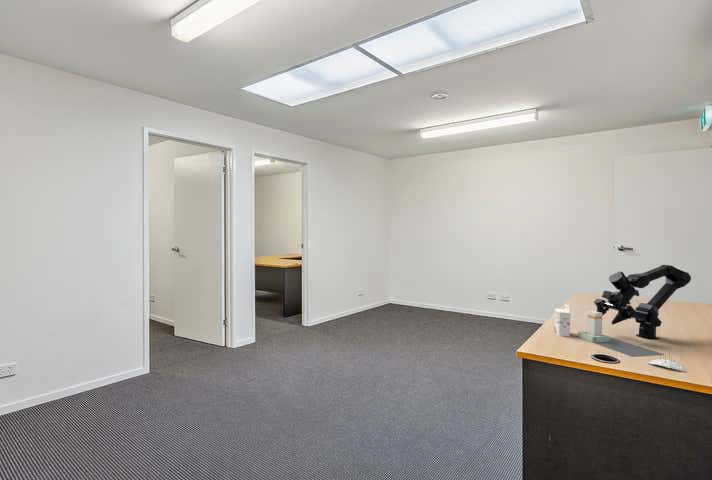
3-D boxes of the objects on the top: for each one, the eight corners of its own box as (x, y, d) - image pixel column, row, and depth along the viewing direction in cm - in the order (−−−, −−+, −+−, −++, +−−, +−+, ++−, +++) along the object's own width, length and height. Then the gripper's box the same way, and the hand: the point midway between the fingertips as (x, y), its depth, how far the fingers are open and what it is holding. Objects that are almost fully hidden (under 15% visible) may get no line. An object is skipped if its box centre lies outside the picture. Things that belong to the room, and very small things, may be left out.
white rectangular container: (594, 337, 183) (595, 311, 183) (602, 340, 178) (603, 313, 178) (585, 338, 182) (586, 311, 182) (593, 341, 177) (594, 313, 177)
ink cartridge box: (553, 332, 194) (554, 302, 193) (564, 332, 193) (565, 302, 192) (558, 336, 186) (559, 305, 185) (570, 337, 185) (571, 306, 184)
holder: (594, 336, 186) (594, 331, 185) (610, 341, 177) (610, 336, 177) (578, 337, 184) (578, 331, 184) (593, 342, 175) (594, 337, 175)
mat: (603, 335, 189) (603, 334, 188) (665, 355, 159) (665, 354, 159) (574, 337, 185) (574, 336, 185) (632, 357, 156) (632, 356, 156)
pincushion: (644, 365, 147) (644, 350, 147) (649, 362, 151) (650, 348, 151) (684, 375, 138) (685, 359, 138) (689, 372, 141) (690, 356, 141)
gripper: (597, 282, 191) (577, 305, 189) (632, 287, 173) (610, 314, 171) (610, 297, 193) (591, 321, 191) (646, 304, 175) (625, 331, 173)
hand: (603, 321), depth 181 cm, fingers open, 9 cm apart
